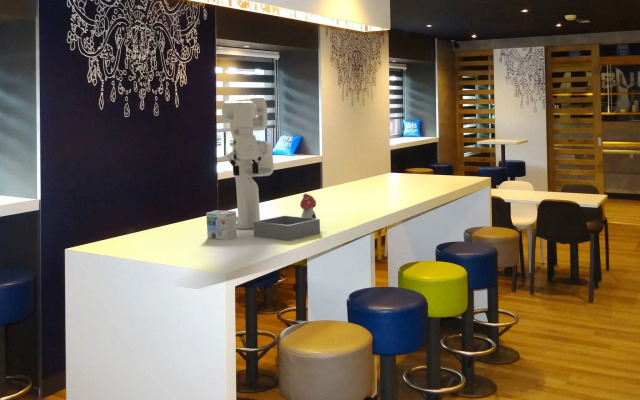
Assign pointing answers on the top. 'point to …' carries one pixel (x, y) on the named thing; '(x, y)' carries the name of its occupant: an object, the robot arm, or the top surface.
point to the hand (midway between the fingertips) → (246, 174)
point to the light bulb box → (221, 225)
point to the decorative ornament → (308, 206)
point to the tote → (286, 227)
